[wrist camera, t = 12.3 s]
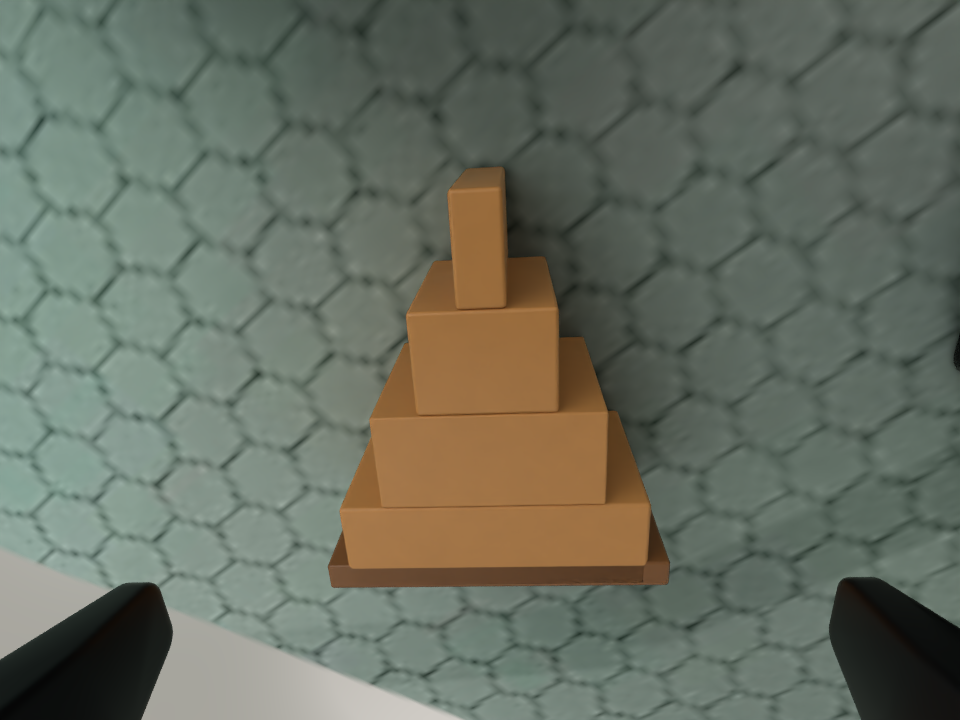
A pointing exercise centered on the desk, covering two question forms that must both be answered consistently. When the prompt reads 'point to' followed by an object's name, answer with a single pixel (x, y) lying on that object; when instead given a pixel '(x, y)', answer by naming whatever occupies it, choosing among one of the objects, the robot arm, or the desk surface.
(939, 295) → the desk surface
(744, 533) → the desk surface
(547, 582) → the tan stepped block
